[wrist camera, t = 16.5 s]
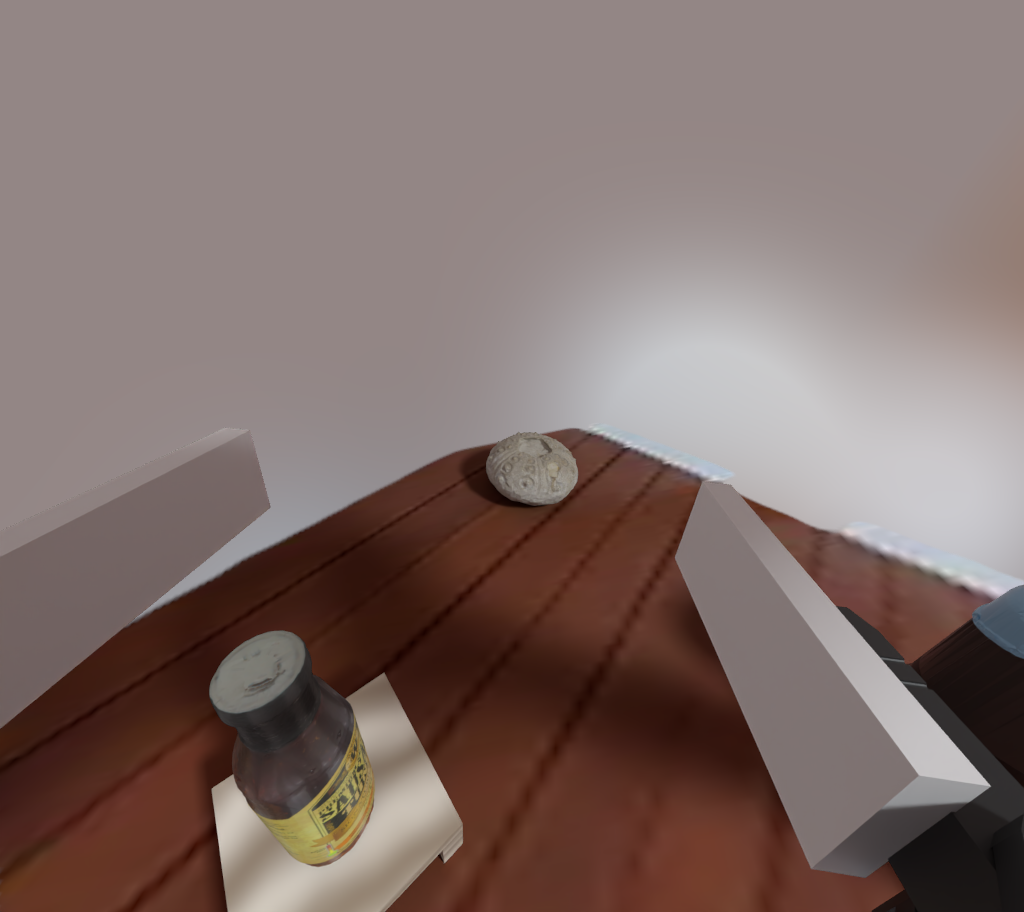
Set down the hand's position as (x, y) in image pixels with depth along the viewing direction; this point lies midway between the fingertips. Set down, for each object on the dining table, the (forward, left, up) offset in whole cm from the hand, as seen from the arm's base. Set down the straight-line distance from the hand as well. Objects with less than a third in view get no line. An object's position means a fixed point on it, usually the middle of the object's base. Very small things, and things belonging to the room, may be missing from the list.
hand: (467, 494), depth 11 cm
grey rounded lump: (+33, -37, -38) cm, 63 cm away
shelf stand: (+7, +8, -38) cm, 39 cm away
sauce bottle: (+7, +8, -32) cm, 34 cm away
